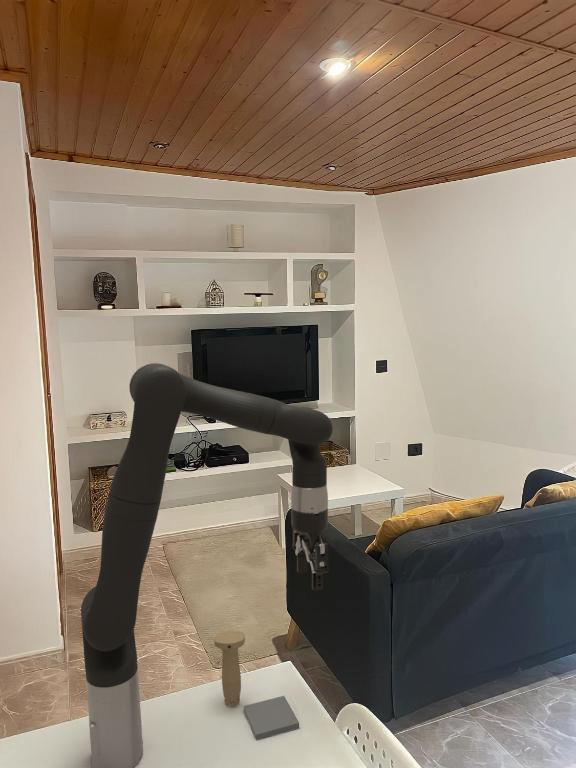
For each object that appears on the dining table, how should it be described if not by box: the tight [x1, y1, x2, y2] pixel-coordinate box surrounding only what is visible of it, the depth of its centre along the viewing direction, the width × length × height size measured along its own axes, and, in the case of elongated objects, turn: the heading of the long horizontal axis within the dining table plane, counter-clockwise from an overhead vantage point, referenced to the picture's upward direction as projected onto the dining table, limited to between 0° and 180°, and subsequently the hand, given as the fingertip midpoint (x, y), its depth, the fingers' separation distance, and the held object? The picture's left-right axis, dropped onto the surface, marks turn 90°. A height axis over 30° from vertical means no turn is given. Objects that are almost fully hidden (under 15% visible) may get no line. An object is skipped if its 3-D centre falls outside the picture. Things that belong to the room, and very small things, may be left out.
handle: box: [213, 630, 246, 708], centre depth 125 cm, size 5×6×15 cm
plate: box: [242, 695, 300, 741], centre depth 120 cm, size 9×9×1 cm
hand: (309, 580), depth 123 cm, fingers open, 8 cm apart
